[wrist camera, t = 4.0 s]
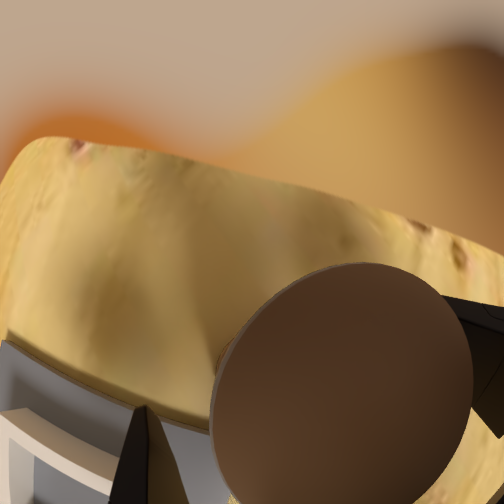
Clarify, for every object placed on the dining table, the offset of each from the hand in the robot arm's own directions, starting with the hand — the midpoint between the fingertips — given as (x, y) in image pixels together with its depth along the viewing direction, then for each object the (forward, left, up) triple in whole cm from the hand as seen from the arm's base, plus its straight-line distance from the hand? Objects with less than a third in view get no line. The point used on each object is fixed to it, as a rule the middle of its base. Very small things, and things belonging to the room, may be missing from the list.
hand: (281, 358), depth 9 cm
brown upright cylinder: (-1, -1, -7) cm, 7 cm away
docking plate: (-13, +7, -7) cm, 16 cm away
